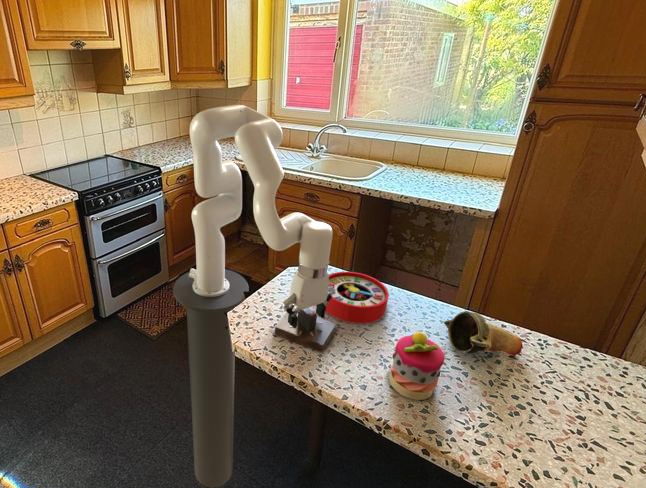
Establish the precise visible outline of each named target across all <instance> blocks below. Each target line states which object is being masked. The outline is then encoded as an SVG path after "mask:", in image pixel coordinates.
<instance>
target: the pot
mask: <svg viewBox="0 0 646 488" xmlns="http://www.w3.org/2000/svg"><path fill="white" fill-rule="evenodd" d="M443 324H444V326H445V327H446V328H447V331H448V333H447V335H448V340H449V344H450V346H451V347H452V348H453V349H454V350H455V351H457V352H458V353H462V354H463V353H465V354H476V353H478V352H482V353H486V352H487V353H491V352H492V353H495V352H499V353H501V352H502V353H505V354H507V355H509V356H513V357H515V356H517V355H520V354H521V353H522V350H523V347H524V345H523V341H522V340H521V338H520V337H519V336H517V335H516V334H514V333H512V332H511V331H508V330H506V329H504V328H503V327H500V326H497V325H495V324H492V323H488V322H486V318H485V317H484V316H483V315H482V314H480V313H478V312H473V311H469V310H464V311H461V312H459V313H457V314H456V315H455V316H454V317H453V318H451V319H448V320H445V321H443Z"/></svg>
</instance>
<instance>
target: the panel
mask: <svg viewBox="0 0 646 488" xmlns="http://www.w3.org/2000/svg"><path fill="white" fill-rule="evenodd" d="M295 309H296V307H294V308H293V309H292V310H293V311H294V310H295ZM288 314H289V313H287V312H285V315H284V316H283V317H282V318H281V319H280V321H279V322H278V323H277V324H276V325H275V327H274V335H277V336H280V337H281V338H284V339H286V340H289V341H292V342H295V343H297V344H299V345H302V346H304V347H307V348H309V349H312V350H314V351H317V352H319V353H323V351H324V350H325V348H326V346H327V345H328V343H329V342H330V340H331V338H332V337H333V335H334V333H335V332H336V330H337V325H338V324H337V322H334V321H332V320H328V319H325V318H321V317H320V316H317V320H316V328H315V329H314V330H312V331H308V330H307V329H306V328H305V327H304V326H303V325H301V324H300V323H299V322H298V321H297V327H296V328H293V327H292V326H291V325H290V324H289V323H288ZM297 316H298V314H297Z"/></svg>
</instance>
